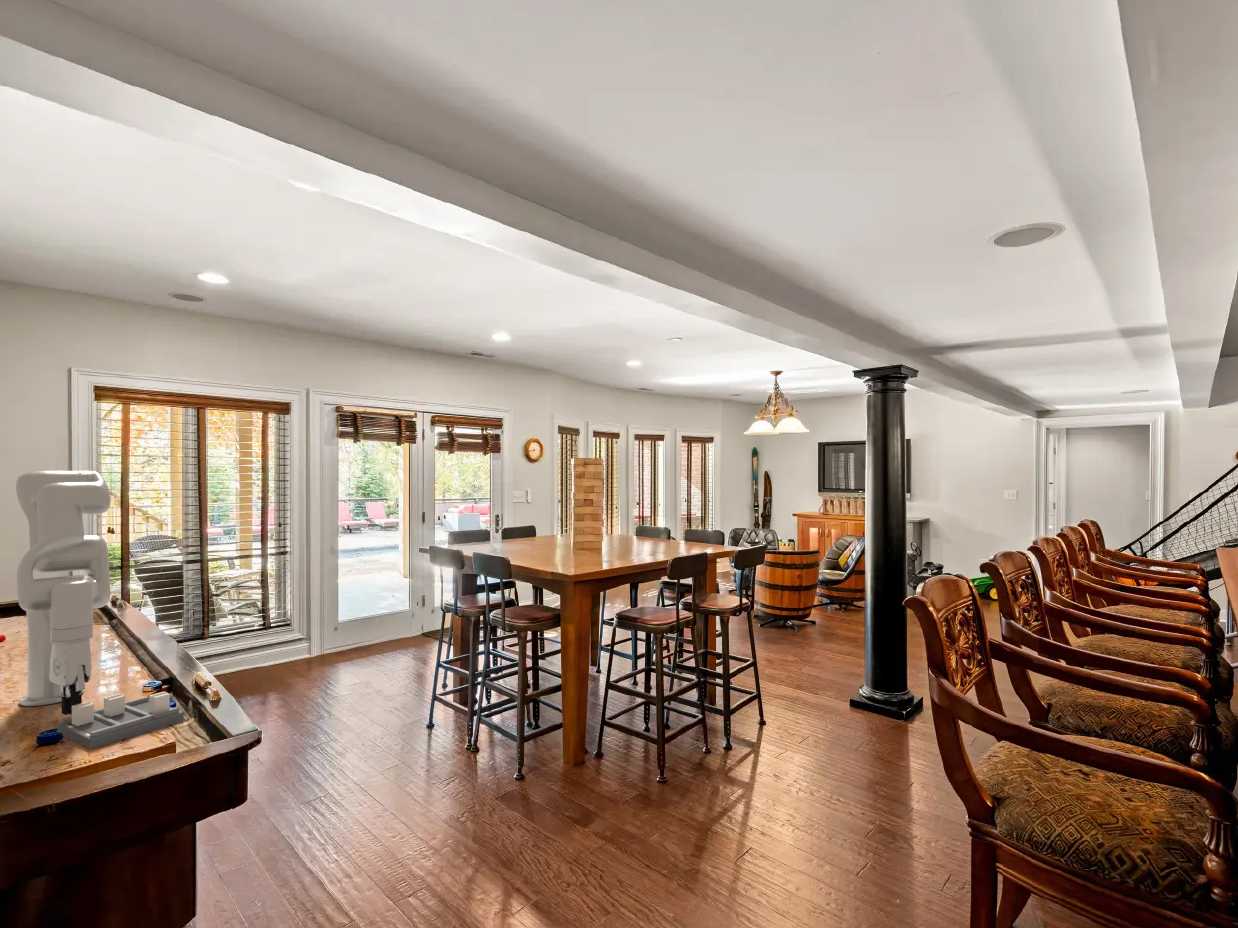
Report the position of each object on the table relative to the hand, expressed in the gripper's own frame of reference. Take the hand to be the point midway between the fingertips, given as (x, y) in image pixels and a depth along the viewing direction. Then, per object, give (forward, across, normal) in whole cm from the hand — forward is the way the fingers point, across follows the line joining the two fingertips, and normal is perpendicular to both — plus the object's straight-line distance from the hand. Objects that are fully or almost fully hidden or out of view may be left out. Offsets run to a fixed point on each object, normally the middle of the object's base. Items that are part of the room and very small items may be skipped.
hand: (71, 712), depth 147 cm
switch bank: (+3, +10, +6) cm, 12 cm away
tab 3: (+1, +14, +12) cm, 18 cm away
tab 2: (+1, +6, +6) cm, 8 cm away
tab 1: (+1, +6, 0) cm, 6 cm away
